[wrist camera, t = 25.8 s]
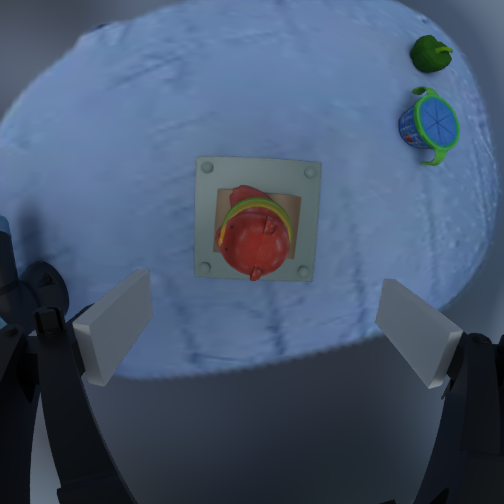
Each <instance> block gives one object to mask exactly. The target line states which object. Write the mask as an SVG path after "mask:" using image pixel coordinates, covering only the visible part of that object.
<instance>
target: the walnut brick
mask: <svg viewBox="0 0 504 504" xmlns="http://www.w3.org/2000/svg"><path fill="white" fill-rule="evenodd" d="M232 193H233V189H218V191H217V203H216V215H215V229H214V243H213V252H217V253H221V251H220V248H219V247H218V246H217V243H216V242H215V237H216V232H217V230H218V229H219V228H220V227H221V226H222V224H223V221H224V218H225V216H226V214H227V213H228V211H229V210H230V209H231V204H230V199H229V198H230V195H231V194H232ZM263 193H265V194H266V195H267V196H269V197H270V198H271V199H272V200H273V201H274V202H275V203H277V204H278V205H280V206H281V207H282V208H283V209H284V210H285V212H286V213H287V215H288V217H289V219H290V221H291V224H292V230H293V236H292V242H291V246H290V248H289V253H288V256H287V258H286V259H294V257H295V249H296V241H297V233H298V225H299V216H300V207H301V198H302V197H299V196H293V195H285V194H275V193H266V192H263Z"/></svg>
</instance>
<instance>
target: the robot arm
mask: <svg viewBox="0 0 504 504" xmlns="http://www.w3.org/2000/svg"><path fill="white" fill-rule="evenodd" d="M11 238H12V236H11V233H10V229H9V223H8V220H7V219H6V218H5V217H4V216H1V215H0V504H30V466H31V452H32V442H33V433H34V425H35V419H36V412H37V407H38V401H39V396H40V391H41V399H42V406H43V412H44V419H45V424H46V429H47V434H48V439H49V443H50V447H51V452H52V456H53V459H54V463H55V467H56V470H57V473H58V476H59V479H60V483H61V488H59V489H57V496H58V500H59V503H60V504H138V502H137V501H136V499H135V497H134V496H133V494H132V492H131V491H130V489H129V488H128V485H127V484H126V482H125V480H124V478H123V476H122V475H121V473H120V471H119V469H118V467H117V465H116V463H115V461H114V459H113V457H112V455H111V453H110V451H109V449H108V447H107V444H106V442H105V440H104V438H103V436H102V433H101V431H100V429H99V426H98V424H97V421H96V419H95V416H94V414H93V411H92V408H91V406H90V403H89V400H88V397H87V394H86V391H85V389H84V385H83V382H82V380H81V376H82V375H83V373H84V372H86V375H87V378H88V381H89V383H92V384H96V385H100V386H106V384H107V382H108V381H109V379H110V378H111V376H112V375H113V373H114V372H115V370H116V369H117V367H118V366H119V364H120V363H121V362H122V360H123V359H124V357H125V356H126V354H127V353H128V351H129V350H130V348H131V347H132V345H133V344H134V342H135V341H136V340H137V338H138V337H139V335H140V334H141V332H142V331H143V330H144V328H145V327H146V325H147V324H148V322H149V321H150V320H151V318H152V317H153V310H152V299H151V286H150V271H149V270H136V271H135V272H133V273H132V274H131V275H129V276H128V277H127V278H126V279H124V280H123V281H122V282H121V283H119V284H118V285H117V286H116V287H114V288H113V289H112V290H111V291H109V292H108V293H107V294H106V295H105V296H103V297H102V298H101V299H100V300H98V301H97V302H96V303H93V304H91V305H89V306H86V307H85V308H83V309H82V310H81V311H80V312H79V313H77V314H76V315H75V317H73V318H71V319H70V320H69V321H68V322H67V323H65V319H64V316H65V314H66V313H67V310H68V305H69V299H68V293H67V289H66V286H65V284H64V281H63V279H62V278H61V276H60V275H59V273H58V272H57V271H56V270H55V269H54V268H53V267H52V266H51V265H49V264H47V263H45V262H36V263H34V264H32V265H30V266H28V267H27V268H26V269H25V271H24V272H23V273H22V274H21V275H20V277H19V278H18V274H17V270H16V264H15V259H14V253H13V247H12V240H11ZM375 323H376V324H377V325H378V326H379V328H380V329H381V330H382V331H383V332H384V334H385V335H386V336H387V337H388V338H389V339H390V341H391V342H392V343H393V344H394V346H395V347H396V348H397V349H398V351H399V352H400V353H401V354H402V355H403V357H404V358H405V359H406V360H407V362H408V363H409V364H410V365H411V367H412V368H413V369H414V370H415V372H416V373H417V374H418V376H419V377H420V378H421V379H422V381H423V382H424V383H425V385H426V386H427V387H428V388H433V387H437V386H441V385H442V382H443V380H444V378H445V376H446V374H447V375H448V376H449V377H450V378H451V379H450V381H449V383H448V385H447V387H446V390H445V392H444V394H443V396H442V398H441V399H443V398H444V397H445V401H444V406H443V411H442V416H441V420H440V425H439V429H438V433H437V437H436V440H435V444H434V448H433V451H432V454H431V457H430V461H429V464H428V466H427V469H426V472H425V475H424V478H423V481H422V484H421V486H420V488H419V491H418V494H417V496H416V499H415V500H414V502H413V504H504V335H502V336H501V339H500V342H499V344H492V342H491V340H490V339H489V338H488V337H486V336H484V335H483V334H479V333H470V334H469V335H467V334H466V333H465V332H464V331H463V330H461V329H460V328H459V327H458V326H456V325H455V324H454V323H453V322H451V321H450V320H449V319H448V318H446V317H445V316H444V315H442V314H441V313H440V312H439V311H437V310H436V309H435V308H433V307H432V306H431V305H429V304H428V303H427V302H425V301H424V300H423V299H421V298H420V297H419V296H417V295H416V294H414V293H413V292H412V291H410V290H409V289H408V288H406V287H405V286H403V285H402V284H401V283H399V282H398V281H397V280H395V279H384V281H383V287H382V292H381V297H380V302H379V307H378V312H377V316H376V321H375ZM34 330H36V333H37V336H28V335H29V334H31V333H32V332H33V331H34ZM380 504H396V503H395V500H391V501H387V502H384V503H380Z"/></svg>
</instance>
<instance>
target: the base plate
mask: <svg viewBox="0 0 504 504" xmlns="http://www.w3.org/2000/svg"><path fill="white" fill-rule="evenodd" d="M320 179H321V163H319V162H309V161H297V160H284V159H268V158H247V157H197V161H196V187H195V277H204V278H224V279H246V280H250V276H249V275H245V274H242V273H240V272H238V271H236V270H235V269H233V268H232V267H231V266H230V265H229V264H228V263H227V262H226V261H225V259H224V258H223V256H222V254H221V253H217V252H213V243H214V229H215V215H216V203H217V191H218V189H234V188H236V187H237V188H238V187H239V186H240V185H247V186H251V187H253V188H256V189H258V190H260V191H262V192H266V193H275V194H285V195H293V196H299V197H302V198H301V207H300V216H299V225H298V233H297V241H296V249H295V257H294V259H286V260H285V262H284V263H283V264H282V265H281V266H280V267H279V268H278V269H277V270H276V271H274V272H272V273H270V274H268V275H264V276H261V277H260V279H258V280H272V281H304V282H312V279H313V269H314V259H315V249H316V238H317V226H318V212H319V197H320Z"/></svg>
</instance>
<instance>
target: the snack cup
mask: <svg viewBox="0 0 504 504" xmlns="http://www.w3.org/2000/svg"><path fill="white" fill-rule="evenodd" d="M425 91H427V95H425V96H423V97H421V98H420V99H419V100H418V101H417V102H416V103H415V105H414V106H413V107H411V108H410V109H409V110H408V111H406V112H405V113H404V114H403V115H402V117H401V118H400V120H399V129H400V132H401V136H402V138H403V139H404V140H405V141H406V142H407V143H408V144H410V145H411V146H413V147H420V148H432V149H434V150H435V159H434V160H432V161H431V162H421V164H424V165H432V166H435V165H438V164H439V163H441V162H442V161H443V159H444V158H445V156H446V153H447V151H448V150H449V149H452V148H453V147H454V146H455V145H456V144H457V142H458V139H459V134H460V128H459V122H458V119H457V116H456V114H455V112H454V110H453V109H452V107H451V106H450V105H449V104H448V103H447V102H446V101H445V100H444V99H443V98H441V97H439V95H438V94H437V93H436V91H434V90H433V89H431V88H427V87H417V88H415V89H413V91H412V93H414V94H417V95H421V94H422V93H424V92H425Z"/></svg>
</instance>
